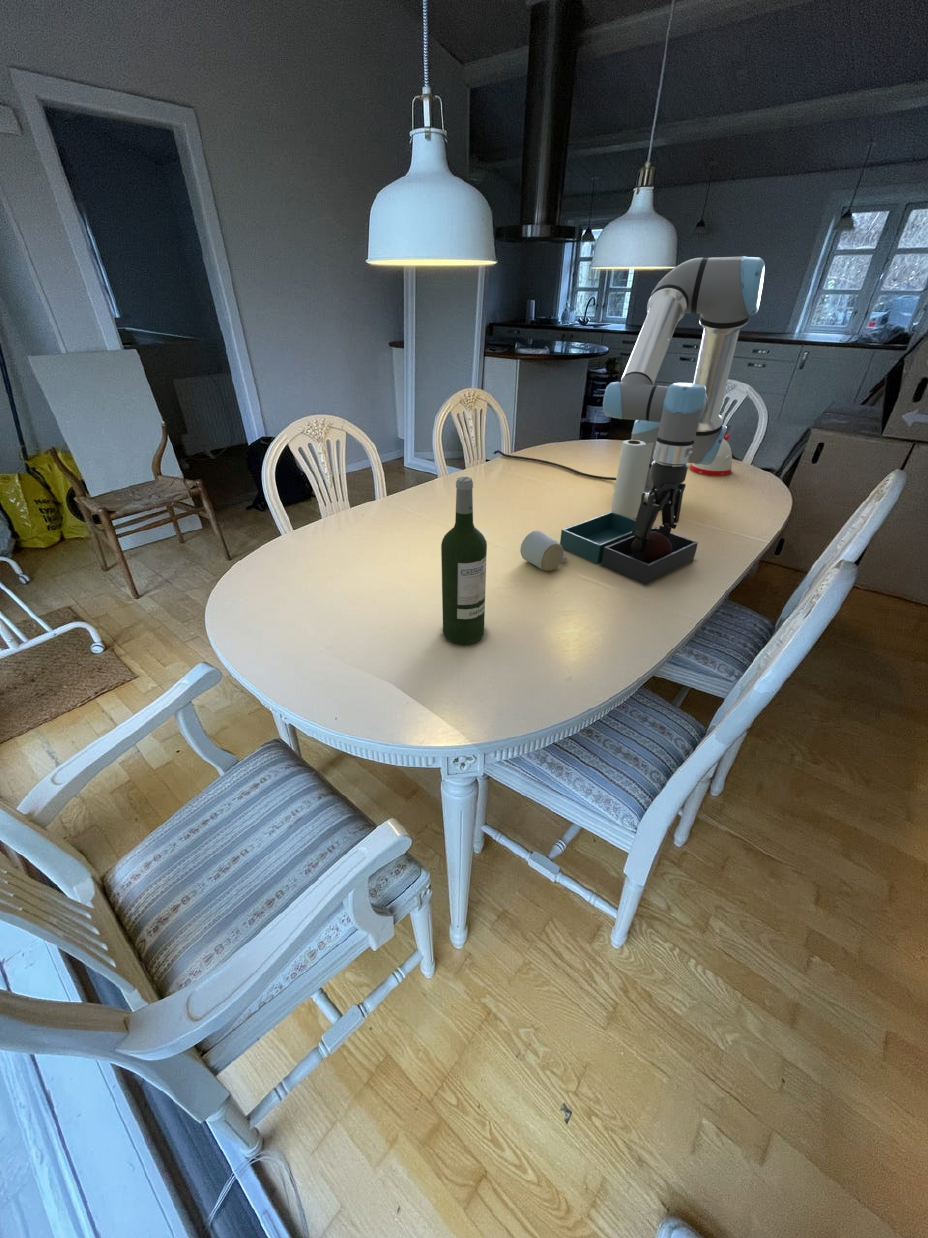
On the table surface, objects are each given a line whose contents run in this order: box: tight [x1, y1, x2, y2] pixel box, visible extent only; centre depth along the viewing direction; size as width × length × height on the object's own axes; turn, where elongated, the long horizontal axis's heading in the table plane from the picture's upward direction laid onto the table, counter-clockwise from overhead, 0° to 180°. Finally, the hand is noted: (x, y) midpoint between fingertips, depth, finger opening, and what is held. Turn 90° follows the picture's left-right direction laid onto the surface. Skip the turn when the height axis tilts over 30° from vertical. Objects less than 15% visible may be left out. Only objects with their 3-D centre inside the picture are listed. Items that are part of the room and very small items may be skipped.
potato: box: [631, 531, 672, 563], centre depth 121 cm, size 8×9×8 cm
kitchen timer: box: [689, 430, 733, 477], centre depth 184 cm, size 14×14×15 cm
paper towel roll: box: [610, 439, 654, 519], centre depth 142 cm, size 7×6×21 cm
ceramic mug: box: [519, 530, 568, 572], centre depth 120 cm, size 11×8×8 cm
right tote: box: [600, 526, 699, 586], centre depth 122 cm, size 12×20×5 cm, turn 129°
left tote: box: [559, 511, 636, 565], centre depth 130 cm, size 12×20×5 cm, turn 129°
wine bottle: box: [440, 476, 488, 646], centre depth 89 cm, size 8×8×30 cm
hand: (649, 557), depth 122 cm, fingers closed on potato, 8 cm apart
